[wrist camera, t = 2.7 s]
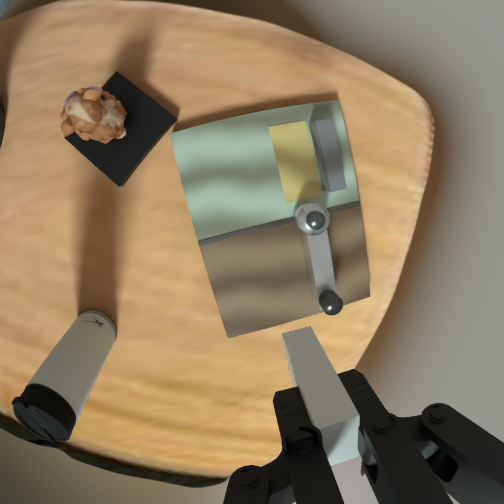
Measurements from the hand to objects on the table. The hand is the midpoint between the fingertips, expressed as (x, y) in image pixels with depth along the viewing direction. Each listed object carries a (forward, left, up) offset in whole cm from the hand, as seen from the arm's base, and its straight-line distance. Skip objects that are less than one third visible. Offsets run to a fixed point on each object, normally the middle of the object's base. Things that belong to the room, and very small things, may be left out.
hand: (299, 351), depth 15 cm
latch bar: (+3, +7, -21) cm, 22 cm away
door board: (-2, +4, -23) cm, 23 cm away
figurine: (-18, -12, -23) cm, 32 cm away
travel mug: (+6, -24, -23) cm, 34 cm away
